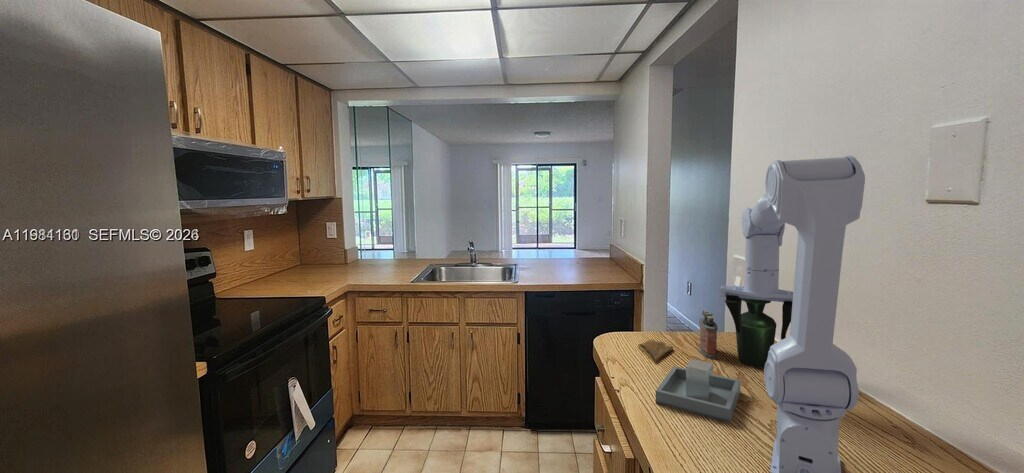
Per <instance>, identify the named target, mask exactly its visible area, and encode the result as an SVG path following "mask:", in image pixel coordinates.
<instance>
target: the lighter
mask: <svg viewBox="0 0 1024 473" xmlns="http://www.w3.org/2000/svg"><path fill="white" fill-rule="evenodd" d="M701 314H702V316H703V317H699V319H698V323H699V343H698V348H699V351H700V354H701V355H703V356H704V357H705V358H706V359H710V360H715V359H718V351H717V339H718V332H717V331H718V324H717V323H716V322H715V321H714V316H713V313H712V312H709V311H708V310H707V309H703V310H702V311H701Z"/></svg>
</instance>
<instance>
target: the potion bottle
mask: <svg viewBox="0 0 1024 473" xmlns="http://www.w3.org/2000/svg"><path fill="white" fill-rule="evenodd" d="M742 302H744V303H745V304H746V307H747V311H744V312H743V313H742V312H741V323H742V328H741V332H740V333H736V332H735V336H736V338H735V339H736V347H737V348H736V349H737V360H739V362H740V363H741V364H743V365H745V366H748V367H752V368H755V369H756V368H757V369H759V368H760V369H764V368H765V363H766V361H767V358H768V352H769V350H770V347H771V346H772V345H774V344H775V339H776V331H777V322H776V321H775V319H774V318H773V317H771V316H770V315H767V314H766V313H764V310H765V308H766V304H770V303H771V302H772V301H767V300H757V299H748V298H742Z"/></svg>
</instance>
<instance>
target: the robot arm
mask: <svg viewBox="0 0 1024 473" xmlns="http://www.w3.org/2000/svg"><path fill="white" fill-rule="evenodd" d="M864 172H865V171H864V170H863V167H862V164H861V163H860V162H859V161H858V160H857V158H856V157H855V156H853V155H845V156H842V157H826V158H825V157H823V158H810V159H808V158H807V159H795V160H793V159H792V160H780V159H778V160H773V161H772V163H771V164H769V166H768V167H767V170H766V174H765V183H764V187H765V193H764V194H763V195H762V196H760V198H759V199H758V201H757V202H756V204H755V205H754V207H753V208H751V207H745V208H743V212H742V217H741V230H742V235H743V236H744V238H745V244H744V245H745V248H744V258H745V259H744V286H738V285H736V286H733V285H732V286H731V285H721V286H720V288H719V297H721V298H725V299H724V300H725V301H724V302H725V305H726V307H727V308H728V310H729V312H730V315H731V317H732V320H733V323H734V327H735V334H736V333H740V332H741V328H742V323H741V314H742V302H743V301H742V298H748V299H757V300H767V301H771V302H776V303H777V302H778V303H782V308H781V309H782V310H781V312H782V323H781V333H780V340H779V341H778V342H776V343H775V342H774V345H772V346H771V347H770V350H769V352H768V358H767V361H766V363H765V368H763V369H764V373H763V376H764V384H765V389H766V392H767V396H768V397H769V398H770V399H771V400H772V401H773V403H777V405H776V406H777V407H776V408H777V409H776V438H775V439H774V442H773V449H772V456H771V462H770V469H769V473H842V469H841V457H840V456H839V436H840V418H846V411H851V410H853V409H854V407H855V406H856V405H857V404H858V400H859V384H858V379H857V378H858V376H857V371H858V370H857V369H858V368H857V366H856V365H855V362H854V360H853V359H852V357H851V356H850V355H849V354H848V353H847V352H846V351H845V350H843V349H841V348H840V347H839V346H837V344H834V343H833V342H834V335H835V334H834V333H835V326H836V325H835V324H836V317H837V308H838V307H837V306H838V297H839V291H840V290H839V289H840V279H841V270H842V262H843V261H842V260H843V252H844V245H845V244H844V243H845V235H846V229H847V226H848V225H850V224H851V223H853V222H855V221H857V220H859V219H860V217H861V211H862V208H863V201H864V192H865V184H866V176H865V175H866V174H865V173H864ZM786 224H788V225H790V226H792V227H795V229H796V231H797V243H796V244H797V245H796V253H795V254H796V255H795V269H794V281H793V291H792V290H784V289H779V283H780V282H779V281H780V280H779V278H780V277H779V276H780V247H782V246H783V237H784V234H785V228H786ZM789 326H790V328H789ZM788 329H790V330H789V335H788V336H787V332H788Z"/></svg>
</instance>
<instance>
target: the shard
mask: <svg viewBox="0 0 1024 473" xmlns="http://www.w3.org/2000/svg"><path fill="white" fill-rule="evenodd" d="M637 347H638V348H639V349H640V350H641V351H643V352H644V354H645V356H646V357H647V358H648V359H649V360H650V361H651V362H653V363H655V364H656V363H657V362H658V361H659V359H661V358H663V356H664V355H666V354H668V353H669V352H670V351H673V348H674V346H673V345H671V344H668V343H666V342H663V341H659V340H655V339H646V341H644V342H642V343H638V345H637Z"/></svg>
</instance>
